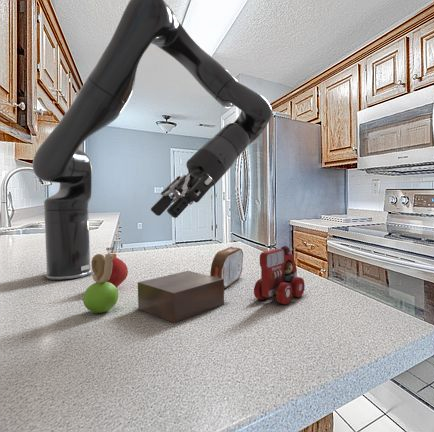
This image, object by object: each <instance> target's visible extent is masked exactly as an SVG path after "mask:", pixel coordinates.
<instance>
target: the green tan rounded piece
mask: <svg viewBox="0 0 434 432" xmlns="http://www.w3.org/2000/svg"><path fill="white" fill-rule="evenodd" d="M114 249H115V248H114V247H113V246H110V247H106V249H105V250H106V251H107V253H106V254H105V255H103V254H101V253H97V254H95V255H93V257H92V259H91V262H90V267H91V271H92V273H93V274H92V279H93V281H94V283H92V284H90V285H89V286H88V287H87V288H86V290H85V291H84V292H83V296H82V302H83V305H84V307H85V308H86V309H87V310H88V311H89V312H92V313H95V314H100V313H102V314H103V313H105V312H108V311H110V310H111V309H113V307H115V306H116V304H117V303H118V300H119V290H118V287H117V288H116V287H115V286H114V285H113V284H112V283H109V282H107V281H108V280H109V279H110V276H111V272H112V260H113V255H112V254H113V253H110V251H114Z"/></svg>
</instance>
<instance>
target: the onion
mask: <svg viewBox="0 0 434 432" xmlns="http://www.w3.org/2000/svg"><path fill="white" fill-rule="evenodd" d="M111 254H112V255H113V260H112V272H111V276H110V279H109V280H108V281H107V282H109V283H112V284H113V285H114V286H115V287H116V288H117V289H118V287H119V286H120V285H121V284H122V283H123V282H124V281H125V280H126V279H127V277H128V276H129V275H128V273H129V271H128V270H129V269H128V267H127V266H128V265H127V264H126V263H125V261H123V260H122V259H120V258H118V257H117V255H118V254H117V253H114V252H112V253H111Z"/></svg>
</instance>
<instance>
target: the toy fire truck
mask: <svg viewBox="0 0 434 432" xmlns="http://www.w3.org/2000/svg"><path fill="white" fill-rule="evenodd" d="M259 266H260V269H261V270H260V274H261V275H260V278H259V279H258V280H257V281H256V282H255V284H254V287H253V295H254V297H255V298H256V299H257V300H261V301H264V300H266V299H267V298H275V299H276V301H277V302H278V304H280V305H288V304H289V303H290V302H291V300H292V297H295V298H301V297H302V296H303V294H304V292H305V288H306V287H305V286H306V285H305V280H304V278H303V277H301V276H298V269H297V265H296V262H295V257H294V255H293V254H292V253H291V249H290V247H289V246H288V245H282V246H281V247H280V248H274V249H270V250H266V251H263V252H261V253H260V254H259Z"/></svg>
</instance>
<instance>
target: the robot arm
mask: <svg viewBox="0 0 434 432" xmlns="http://www.w3.org/2000/svg"><path fill="white" fill-rule="evenodd" d="M151 44H152V45H154V46H156V47H158V49H160V50H161V51H163V52H165V53H166V54H168V55H169V56H170V57H172V58H173V59H174V60H176V61H177V62H178V63H179V64H180V65H181V66H182V67H184V69H186V70H187V72H188V73H189V74H190V75H191V76H192V77H193V78H194V79H195V82H197V83H198V84H199V85H200V86H201V87H202V88H203V89H204V91H206V92H207V93H208V94H209V95H210V96H211V97H212V99H214V100H215V101H216V102H217V103H218V104H219V105H221V106H222V107H223V108H225V109H230V108H232V107H236V108H238V109H239V110H240V113H239V115H238V117H237V118H236V119H235V120H234V121H233V122H229V123H227V124H225V125H224V126H223V127H222V128H221V129H220V130H219V131H218V132H217V133H215V135H214V136H213V137H212V138H210V139H208V140H207V141H206V142H205V143H204V144H203V145H202V146H201V147H200V148H199V149H198V150H197V151H196V152H195V153H194V154H193V155H192V156H191V157H190V158H188V160H187V161H186V164H185V167H186V168H187V171H188V172H187V174H183V175H179V176H176V177H175V179H174V180H173V181H172V182H171V183H170V184H168V185H167V186H166V188H164V189H163V190H162V191H161V193H160V195H161V198H160V199H158V200H157V201H156V202H155V204H154V205H152V207H151V208H150V211H151V212H152V213H153V214H154V215H155V216H157V217H159V216H162V214H163V213H164V212H165V211H166V212H167V214H168V215H170V216H171V218H173V219H174V218H175V219H177V218H178V217H179V216H180V215H181V214H182V213H183V212H184V211H185V209H187V207H188V206H191V205H192V204H194V203H195V204H197V203H199V202H200V201H201V199H202V198H203V197H204V196H205V195H206V194H207V193H208V191H210V189H211V188H212V187H214V186H215V185H216V184H217V183H218V182H219V181H220V180H221V178H223V176H224V175H225V174H226V173H227V172H228V171H229V170H230V169H231V168H232V167H233V165H234V164H235V162H236V161H237V159H238V158H239V157H240V156H241V155H242V154H243V152H244V151H245V150H247V148H248V146H249V145H251V144H252V143H253V142H254V141H256V140H257V139H258V138H259V137H260V136H261V134H262V133H263V132H264V131H265V129H266V127H267V126H268V124H269V122H270V121H271V119H272V117H273V109H272V106H271V104H270V103H269V101H268V100H267V99H266V98H265V97H264V96H263V95H261V94H260V93H259V92H256V90H255V91H254V90H253V89H252V88H250V87H248V86H247V85H245V84H242V83H241V82H240V81H238V79H237V78H236V77H234V75H233V74H232V73H230V72H229V71H228V69H226V67H224V66H223V65H222V64H221V63H220V62H219V61H217V60H216V59H215V58H214V57H213V56H211V55H210V54H209V53H208V52H206V51H205V50H204V49H203V48H202V47H200V45H198V44H197V42H196V41H195V40H194V39H193V38H192V37H191V36H190V34H189V33H188V32H187V30H186V29H185V28H184V26H183V25H182V24H181V23H180V21H179V20H178V18H177V16H176V14H175V13H174V11H173V10H172V9H171V7H170V6H169V5H168V4H167V2H166V1H165V0H129V1H128V3H127V5H126V7H125V9H124V11H123V13H122V15H121V17H120V20H119V22H118V24H117V26H116V28H115V31H114V33H113V35H112V37H111V39H110V41H109V43H108V45H107V46H106V48H105V49H104V51H103V53H102V54H101V56H100V58H99V59H98V61H97V63H96V64H95V66H94V67H93V68H92V70H91V71H90V73H89V74H88V76H87V78H86V79H85V81H84V82H83V84H82V86H81V87H80V89H79V91H78V93H77V95H76V97H75V98H74V100H73V101H72V103H71V105H70V106H69V107H68V109H67V111H66V112H65V114H63V117H62V118H61V119H60V121H59V122H58V124H56V126H55V127H54V128H53V130H52V131H51V132H50V133H49V135H48V136H47V137H46V138H45V139H44V140H43V142H42V143H41V144H40V146H39V147H38V148H37V150H36V152H35V153H34V156H33V159H32V171H33V173H34V175H35V177H37V178H38V179H39V180H41V181H43V182H48V183H53V184H54V183H55V184H59V189H58V191H57V192H56V193H54V194H52V195H51V196H48V197H47V198H45V199H44V200H43V210H44V212H43V213H44V238H45V261H46V263H45V265H46V275H45V276H46V279H47V280H52V281H63V280H65V281H66V280H71V279H72V280H73V279H80V278H83V277H87V276H89V275H91V273H92V269H91V248H90V222H89V221H90V219H89V218H90V217H89V203H90V201H91V198H92V188H93V187H92V184H93V183H92V182H93V167H92V162H91V159H90V157H89V155H88V154H87V152H85V151H83V150H81V149H80V147H81V146H82V145H83V143H84V142H85V141H86V140H87V139H89V138H90V137H92V136H93V135H94V134H96V133H98V132H99V131H101V130H103V129H104V128H106V127H107V126H109V125H111V124H112V123H113V122H114V121H115V120H116V119H118V117H119V116H120V115H121V113H122V112H123V110H124V109H125V108H126V106H127V104H128V103H129V101H130V99H131V98H132V95H133V91H134V88H135V83H136V77H137V71H138V68H139V64H140V61H141V60H142V58H143V56H144V54H145V53H146V52H147V50H148V48H149V47H150V46H151ZM170 194H171V195H170Z"/></svg>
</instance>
